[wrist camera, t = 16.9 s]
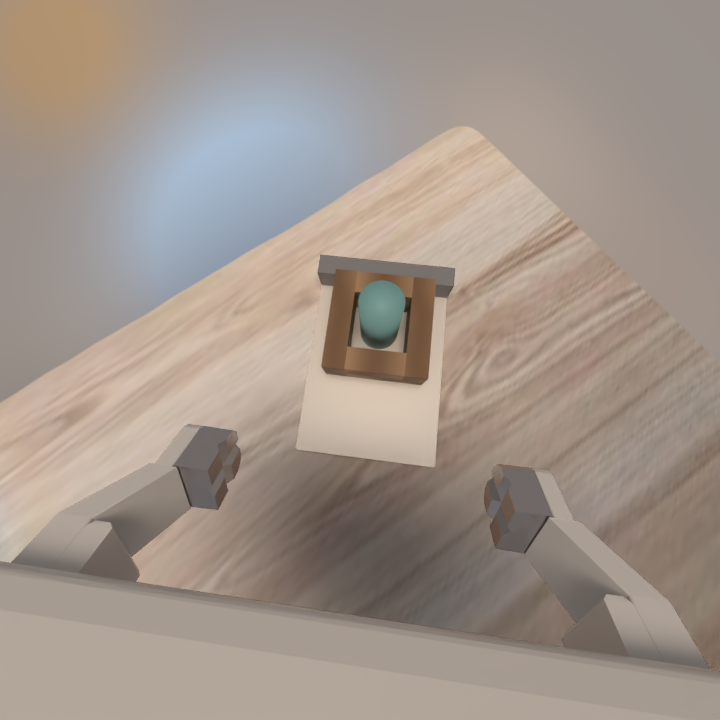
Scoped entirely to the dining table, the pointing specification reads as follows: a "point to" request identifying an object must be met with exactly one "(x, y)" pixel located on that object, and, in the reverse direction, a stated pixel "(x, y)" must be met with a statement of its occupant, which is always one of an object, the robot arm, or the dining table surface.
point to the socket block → (378, 362)
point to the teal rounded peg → (380, 313)
